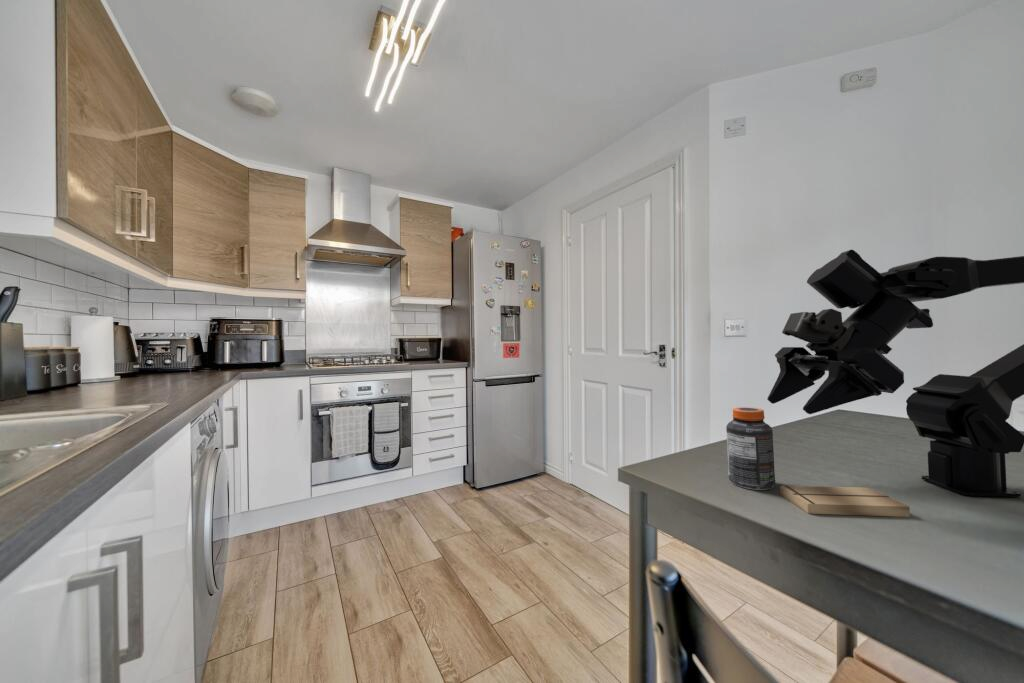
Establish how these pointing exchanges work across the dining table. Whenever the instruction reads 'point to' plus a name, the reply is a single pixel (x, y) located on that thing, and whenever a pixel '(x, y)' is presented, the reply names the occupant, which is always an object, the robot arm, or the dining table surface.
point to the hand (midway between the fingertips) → (786, 406)
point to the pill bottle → (750, 450)
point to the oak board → (844, 501)
